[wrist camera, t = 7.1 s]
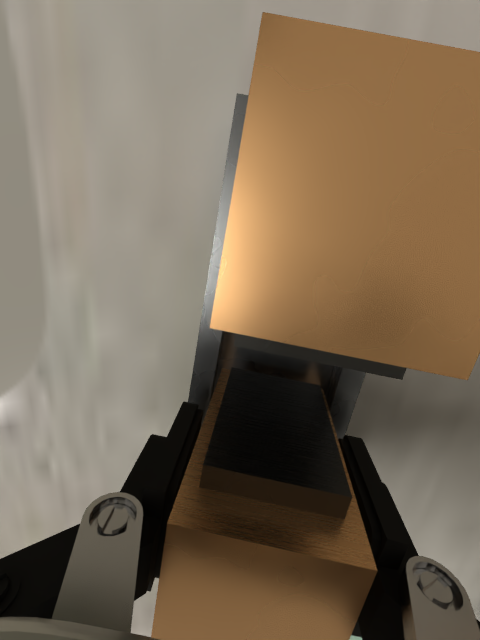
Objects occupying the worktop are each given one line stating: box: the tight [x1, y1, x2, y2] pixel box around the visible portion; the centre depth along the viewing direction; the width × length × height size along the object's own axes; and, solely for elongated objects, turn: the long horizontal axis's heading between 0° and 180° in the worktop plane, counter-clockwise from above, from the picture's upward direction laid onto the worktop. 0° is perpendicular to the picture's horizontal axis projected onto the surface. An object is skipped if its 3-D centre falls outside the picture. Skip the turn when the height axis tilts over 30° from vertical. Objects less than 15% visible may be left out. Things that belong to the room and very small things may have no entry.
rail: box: [188, 12, 480, 439], centre depth 9 cm, size 14×6×8 cm, turn 169°
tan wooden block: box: [151, 367, 377, 640], centre depth 10 cm, size 5×4×7 cm
